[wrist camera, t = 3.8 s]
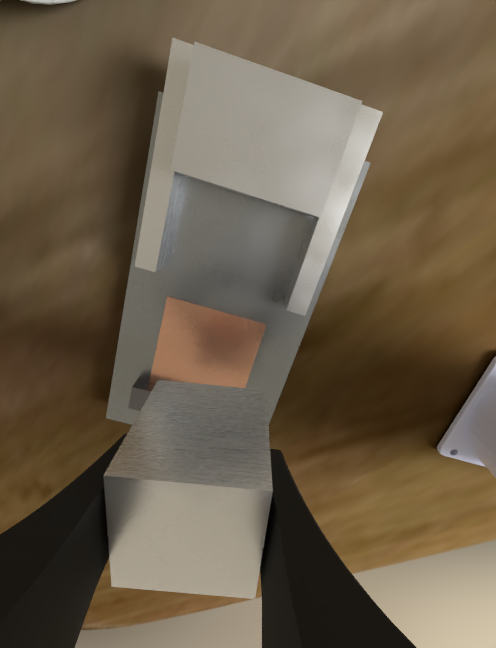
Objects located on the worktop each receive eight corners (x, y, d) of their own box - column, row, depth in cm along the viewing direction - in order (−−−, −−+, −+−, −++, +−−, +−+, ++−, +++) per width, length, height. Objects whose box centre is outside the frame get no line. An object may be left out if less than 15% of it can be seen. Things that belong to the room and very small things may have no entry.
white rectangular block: (254, 473, 15) (254, 598, 10) (158, 464, 14) (111, 586, 10) (266, 390, 13) (272, 491, 8) (158, 379, 13) (103, 475, 8)
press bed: (372, 134, 15) (399, 117, 13) (256, 439, 22) (257, 473, 19) (173, 65, 15) (154, 31, 12) (115, 404, 21) (94, 434, 18)
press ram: (340, 123, 14) (362, 101, 11) (308, 215, 15) (320, 217, 12) (207, 77, 13) (194, 41, 10) (186, 177, 15) (170, 169, 12)
